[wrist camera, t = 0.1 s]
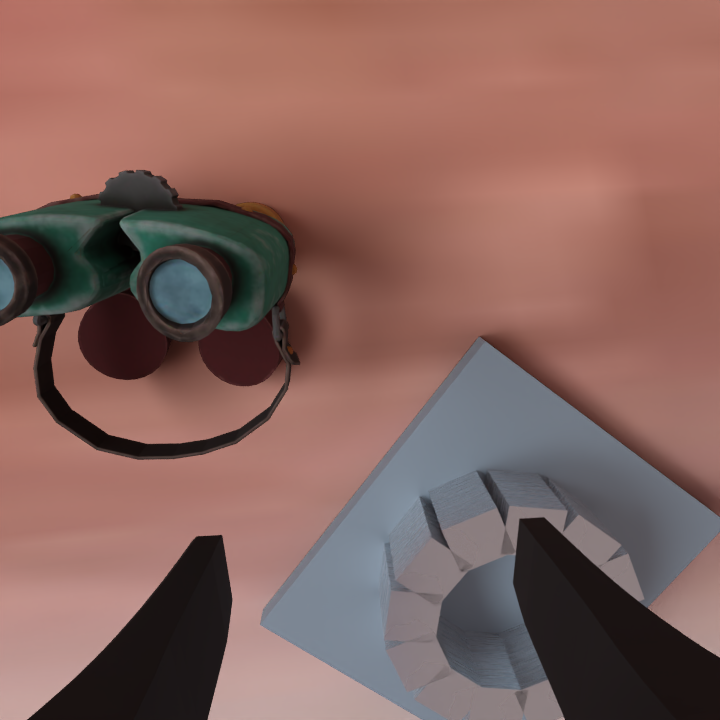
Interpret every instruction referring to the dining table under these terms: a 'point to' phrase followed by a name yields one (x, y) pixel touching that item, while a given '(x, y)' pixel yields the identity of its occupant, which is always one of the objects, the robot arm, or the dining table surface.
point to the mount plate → (478, 453)
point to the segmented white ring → (448, 566)
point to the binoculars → (151, 292)
